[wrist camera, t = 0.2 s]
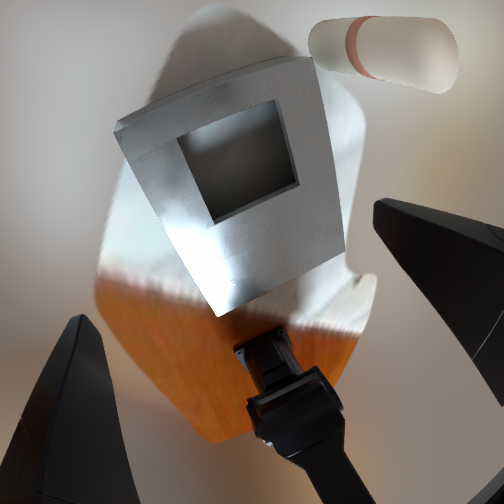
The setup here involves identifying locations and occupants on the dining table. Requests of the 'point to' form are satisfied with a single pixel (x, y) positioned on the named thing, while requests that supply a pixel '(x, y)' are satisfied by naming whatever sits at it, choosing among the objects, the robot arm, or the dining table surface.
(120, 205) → the dining table surface
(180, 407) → the dining table surface
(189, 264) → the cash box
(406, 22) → the coin roll
